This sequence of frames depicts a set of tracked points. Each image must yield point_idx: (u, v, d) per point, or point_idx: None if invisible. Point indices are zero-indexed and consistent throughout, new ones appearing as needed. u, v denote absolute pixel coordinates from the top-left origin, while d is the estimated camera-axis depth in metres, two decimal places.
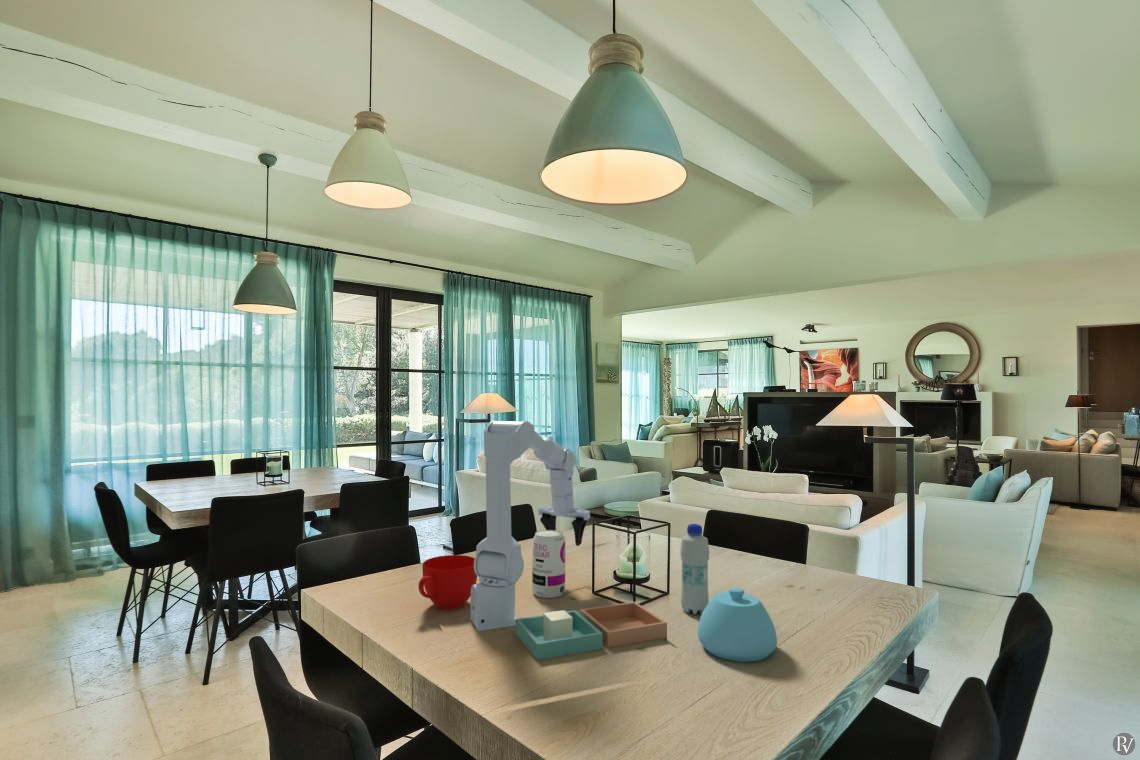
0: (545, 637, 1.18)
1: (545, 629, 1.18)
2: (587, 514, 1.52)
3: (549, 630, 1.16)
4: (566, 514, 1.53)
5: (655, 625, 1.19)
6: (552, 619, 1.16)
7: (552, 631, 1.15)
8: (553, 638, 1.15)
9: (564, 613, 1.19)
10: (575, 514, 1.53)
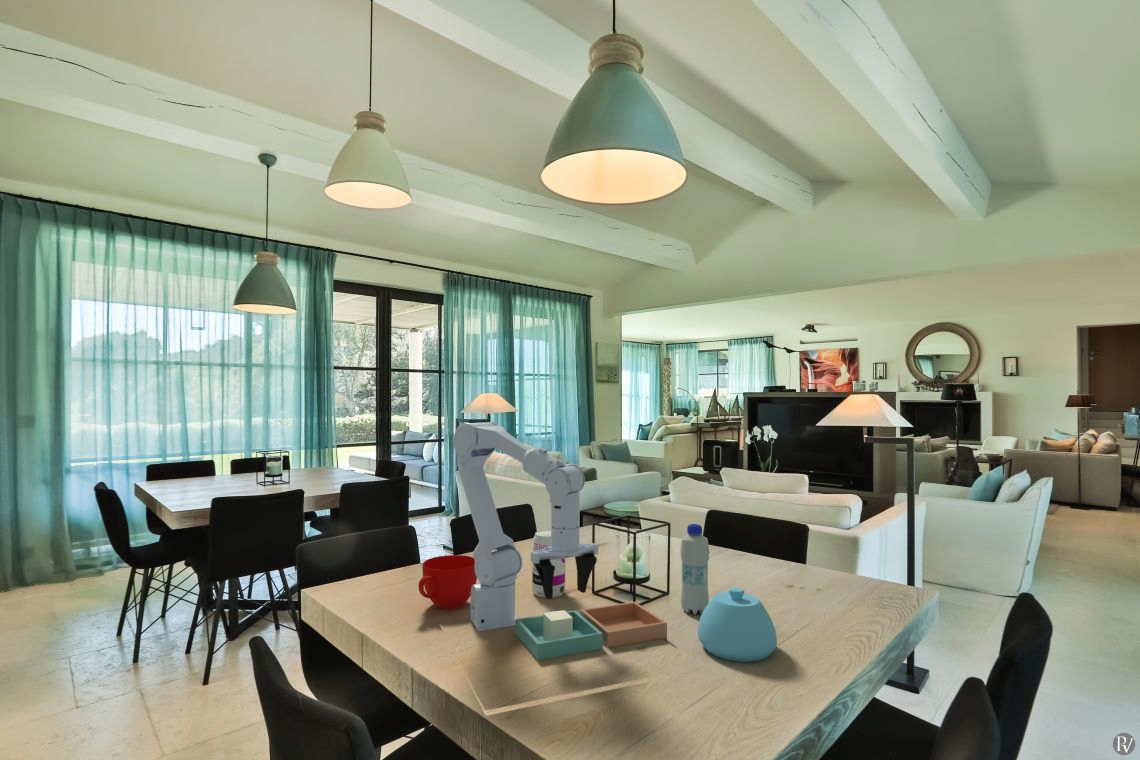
0: (545, 637, 1.18)
1: (545, 629, 1.18)
2: (531, 554, 1.16)
3: (549, 630, 1.16)
4: None
5: (655, 625, 1.19)
6: (552, 619, 1.16)
7: (552, 631, 1.15)
8: (553, 638, 1.15)
9: (564, 613, 1.19)
10: None
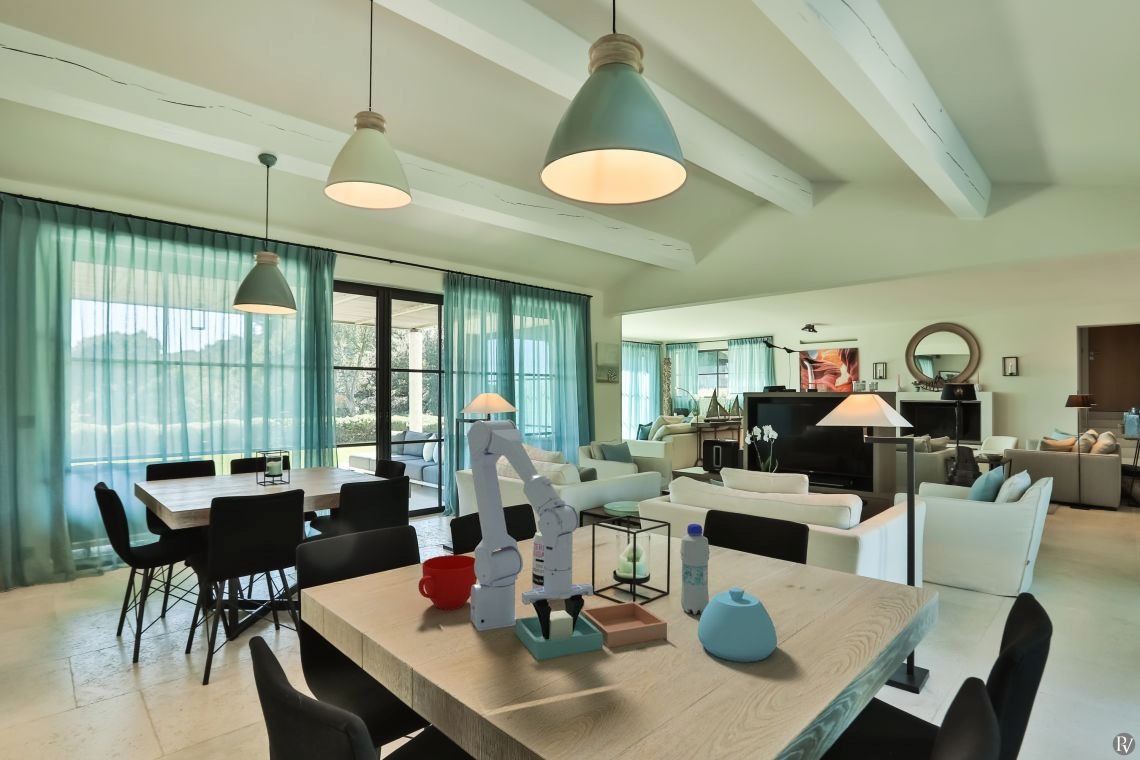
0: None
1: None
2: (522, 595, 1.16)
3: None
4: None
5: (655, 625, 1.19)
6: (552, 619, 1.16)
7: (552, 631, 1.15)
8: (553, 638, 1.15)
9: (564, 613, 1.19)
10: None
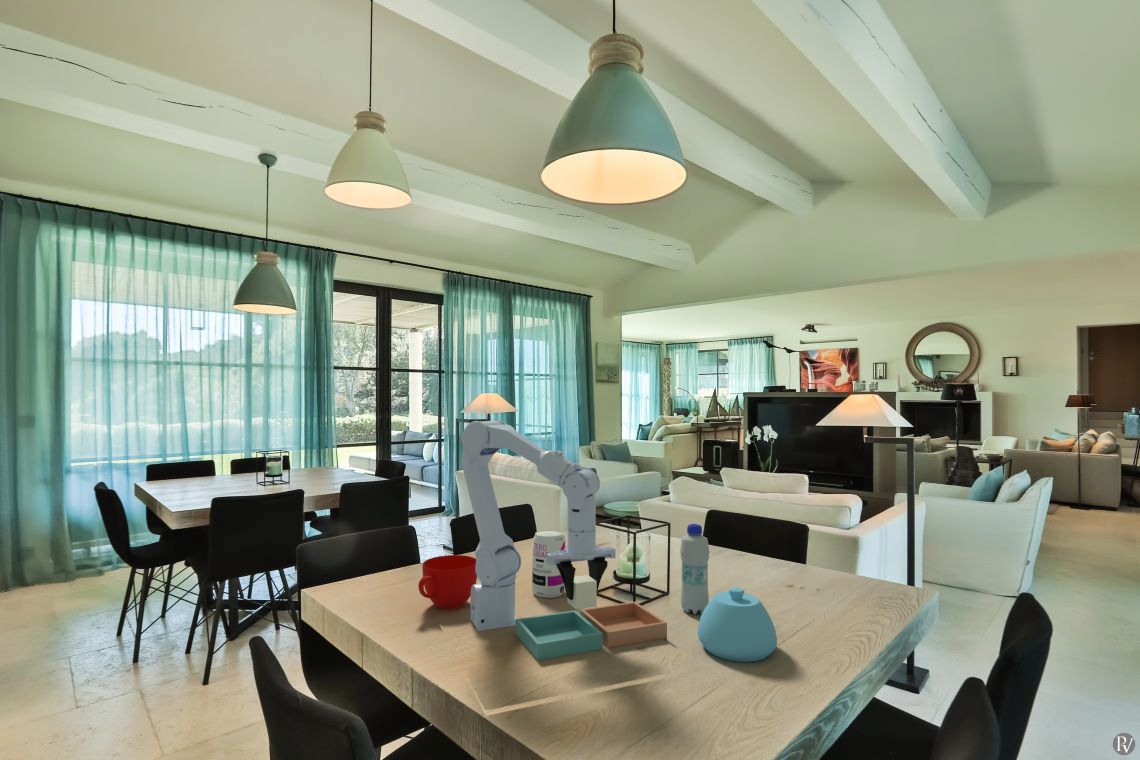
0: (570, 600, 1.20)
1: None
2: (547, 556, 1.18)
3: (574, 593, 1.18)
4: None
5: (655, 625, 1.19)
6: (576, 582, 1.18)
7: (576, 594, 1.17)
8: (578, 601, 1.17)
9: (588, 577, 1.21)
10: None
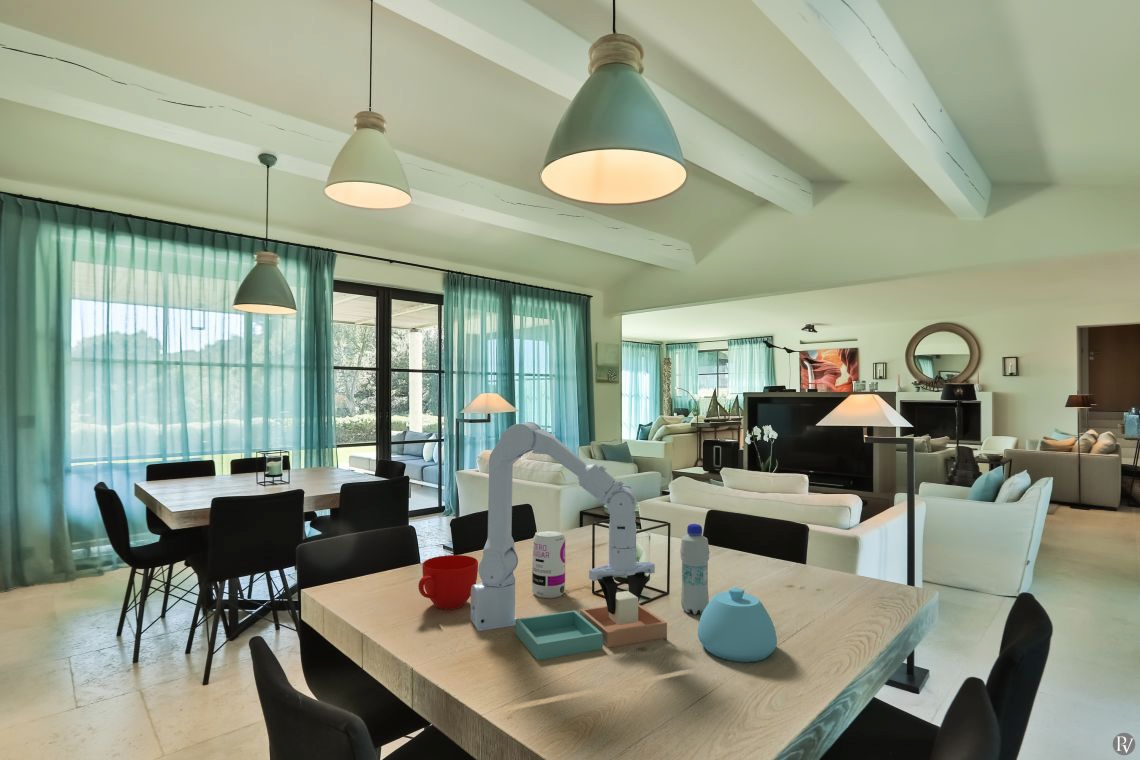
0: (612, 616, 1.23)
1: None
2: (590, 572, 1.22)
3: (616, 609, 1.21)
4: None
5: (655, 625, 1.19)
6: (619, 599, 1.21)
7: (619, 610, 1.20)
8: (620, 617, 1.21)
9: (629, 593, 1.24)
10: None
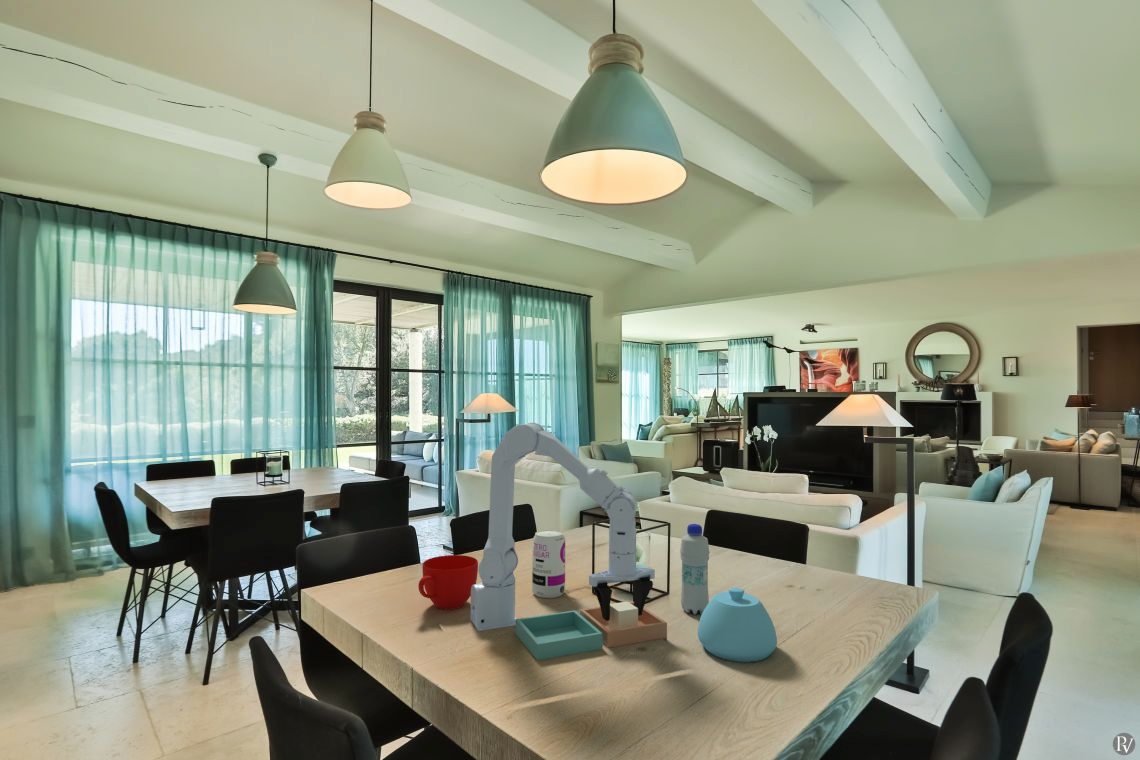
0: (611, 627, 1.23)
1: (611, 619, 1.23)
2: (590, 577, 1.22)
3: (616, 620, 1.21)
4: None
5: (655, 625, 1.19)
6: (619, 610, 1.21)
7: (619, 621, 1.20)
8: (620, 628, 1.21)
9: (628, 604, 1.24)
10: None
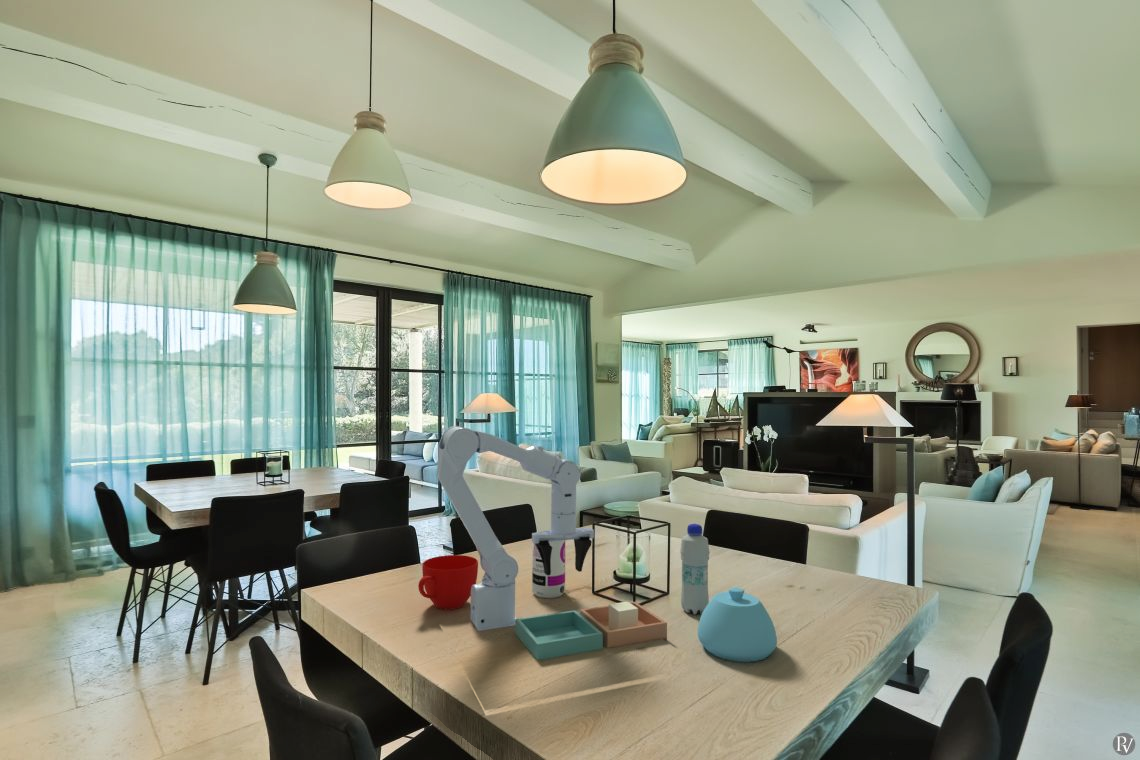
0: (611, 627, 1.23)
1: (611, 619, 1.23)
2: (532, 536, 1.33)
3: (616, 620, 1.21)
4: None
5: (655, 625, 1.19)
6: (619, 610, 1.21)
7: (619, 621, 1.20)
8: (620, 628, 1.21)
9: (628, 604, 1.24)
10: None
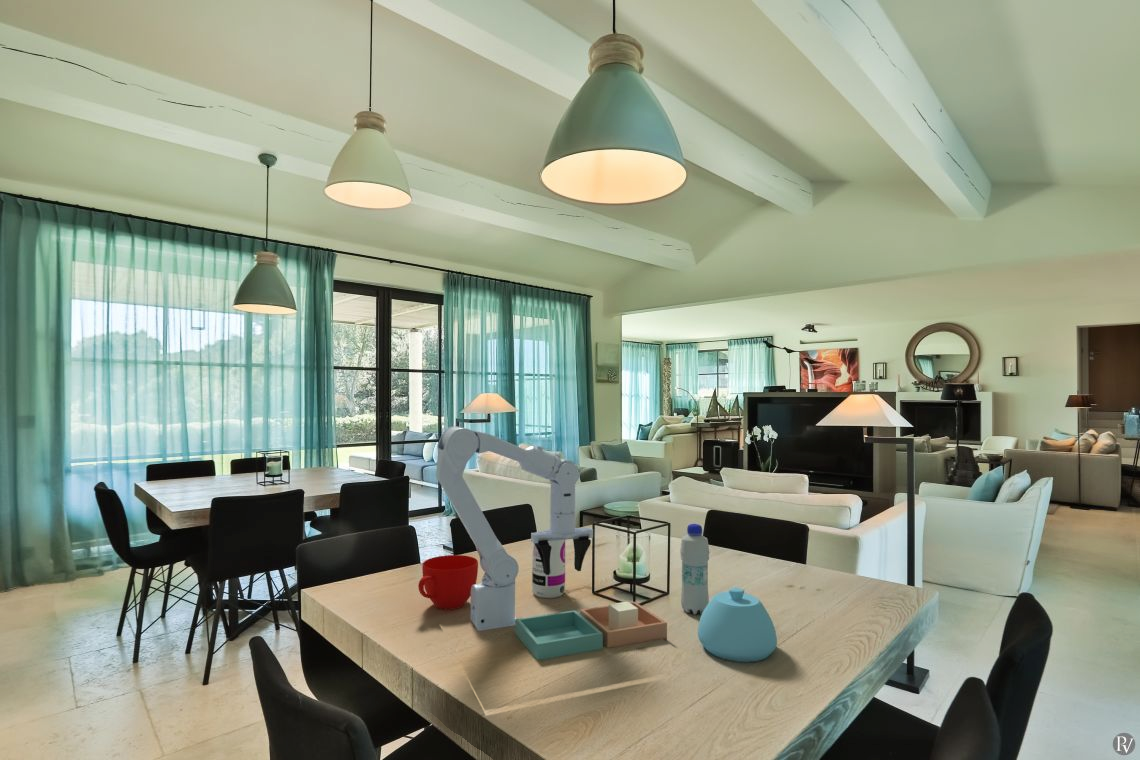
0: (611, 627, 1.23)
1: (611, 619, 1.23)
2: (531, 535, 1.33)
3: (616, 620, 1.21)
4: None
5: (655, 625, 1.19)
6: (619, 610, 1.21)
7: (619, 621, 1.20)
8: (620, 628, 1.21)
9: (628, 604, 1.24)
10: None
